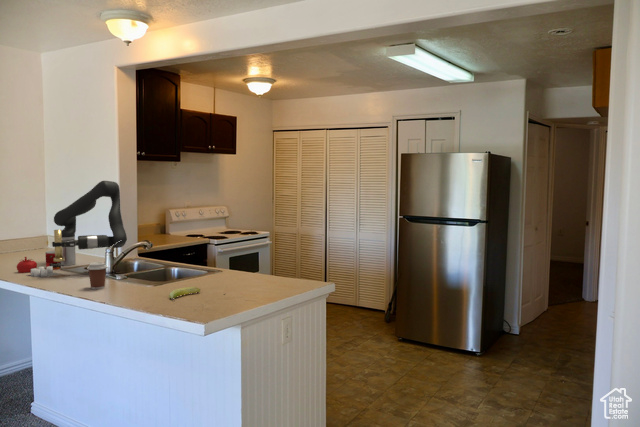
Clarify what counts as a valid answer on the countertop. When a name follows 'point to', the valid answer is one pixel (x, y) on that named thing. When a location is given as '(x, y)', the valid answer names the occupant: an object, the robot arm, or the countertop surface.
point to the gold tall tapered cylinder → (58, 250)
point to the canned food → (52, 260)
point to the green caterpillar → (183, 291)
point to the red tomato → (26, 266)
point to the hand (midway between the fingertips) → (52, 244)
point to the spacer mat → (42, 272)
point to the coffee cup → (97, 274)
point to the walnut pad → (59, 275)
